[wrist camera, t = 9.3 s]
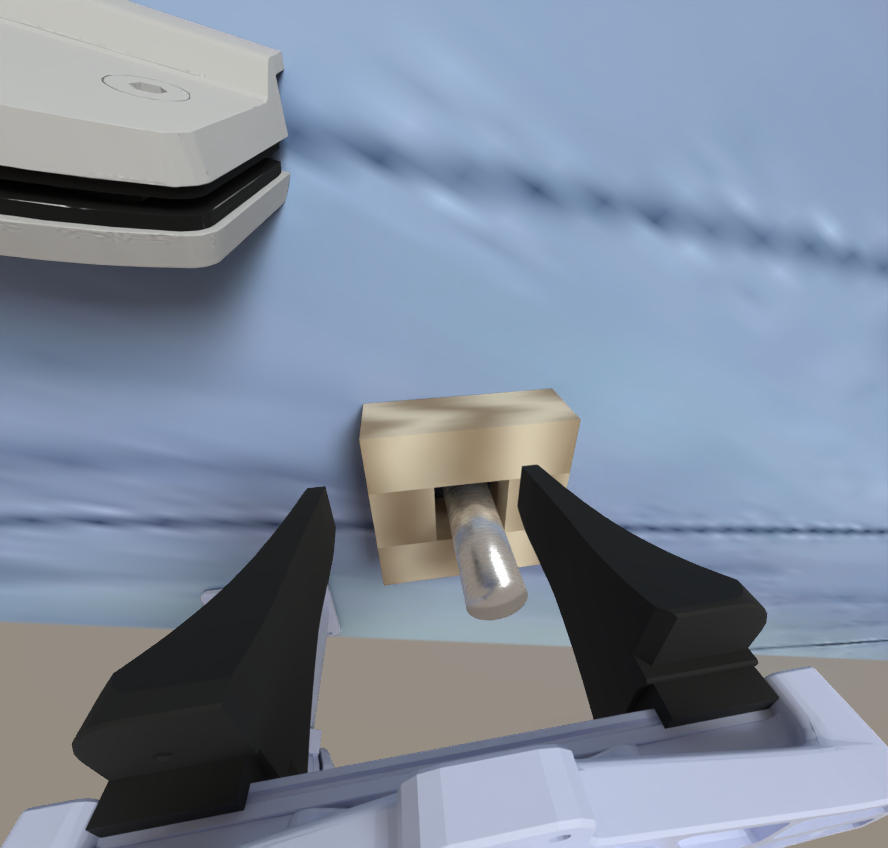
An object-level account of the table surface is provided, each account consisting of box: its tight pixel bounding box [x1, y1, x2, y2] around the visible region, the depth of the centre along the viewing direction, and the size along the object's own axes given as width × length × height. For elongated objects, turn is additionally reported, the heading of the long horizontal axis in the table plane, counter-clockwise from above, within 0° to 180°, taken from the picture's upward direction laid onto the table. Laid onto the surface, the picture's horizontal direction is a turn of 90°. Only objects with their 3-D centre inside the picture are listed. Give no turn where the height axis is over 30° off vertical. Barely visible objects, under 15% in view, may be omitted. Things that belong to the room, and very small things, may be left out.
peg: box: [442, 482, 528, 620], centre depth 21 cm, size 3×3×10 cm
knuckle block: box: [359, 389, 581, 585], centre depth 24 cm, size 12×12×4 cm
